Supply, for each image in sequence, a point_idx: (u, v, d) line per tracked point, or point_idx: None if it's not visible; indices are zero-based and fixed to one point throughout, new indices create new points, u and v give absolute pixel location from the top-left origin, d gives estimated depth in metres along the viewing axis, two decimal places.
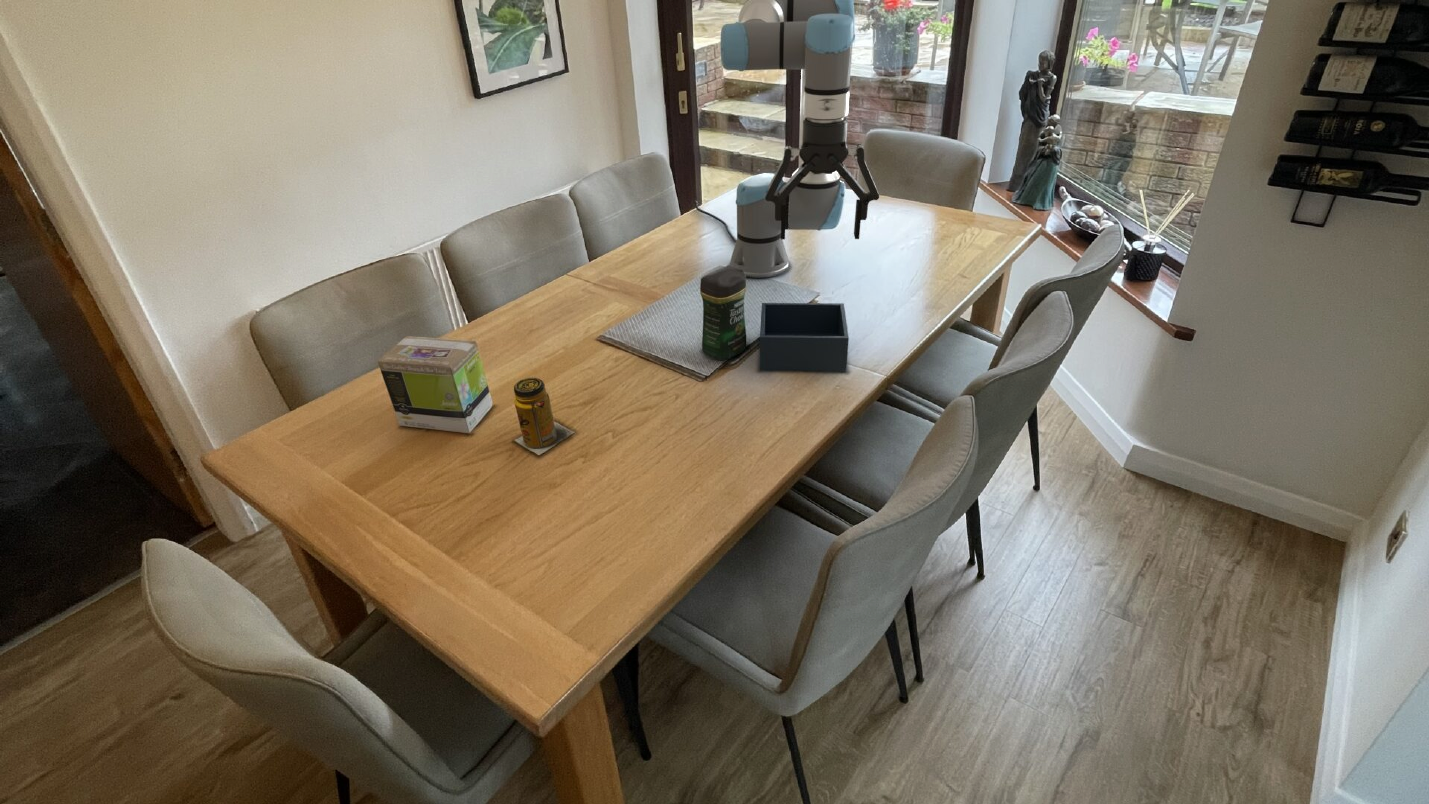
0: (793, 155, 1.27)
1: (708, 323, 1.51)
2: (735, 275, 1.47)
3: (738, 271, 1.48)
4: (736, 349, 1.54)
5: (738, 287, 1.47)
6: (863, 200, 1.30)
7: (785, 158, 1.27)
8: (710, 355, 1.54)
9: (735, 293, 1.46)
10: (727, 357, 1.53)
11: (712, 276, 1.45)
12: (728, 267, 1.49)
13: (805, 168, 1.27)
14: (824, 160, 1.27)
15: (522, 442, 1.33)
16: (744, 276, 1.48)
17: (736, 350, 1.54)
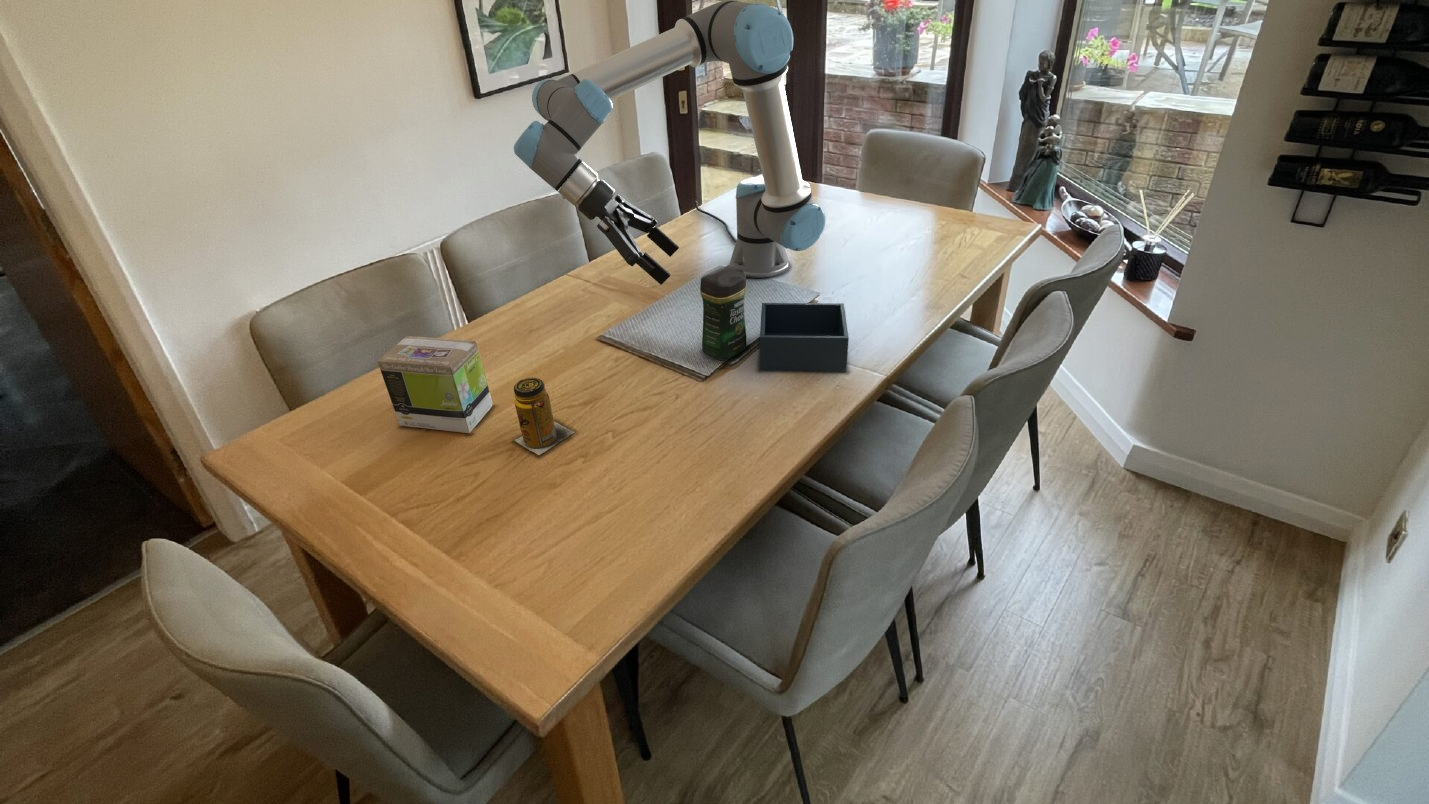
0: None
1: (708, 323, 1.51)
2: (735, 274, 1.47)
3: (738, 271, 1.48)
4: (736, 349, 1.54)
5: (739, 287, 1.47)
6: None
7: None
8: (710, 355, 1.54)
9: (736, 293, 1.46)
10: (727, 357, 1.53)
11: (712, 276, 1.45)
12: (728, 266, 1.49)
13: None
14: None
15: (522, 442, 1.33)
16: (744, 276, 1.48)
17: (736, 350, 1.54)
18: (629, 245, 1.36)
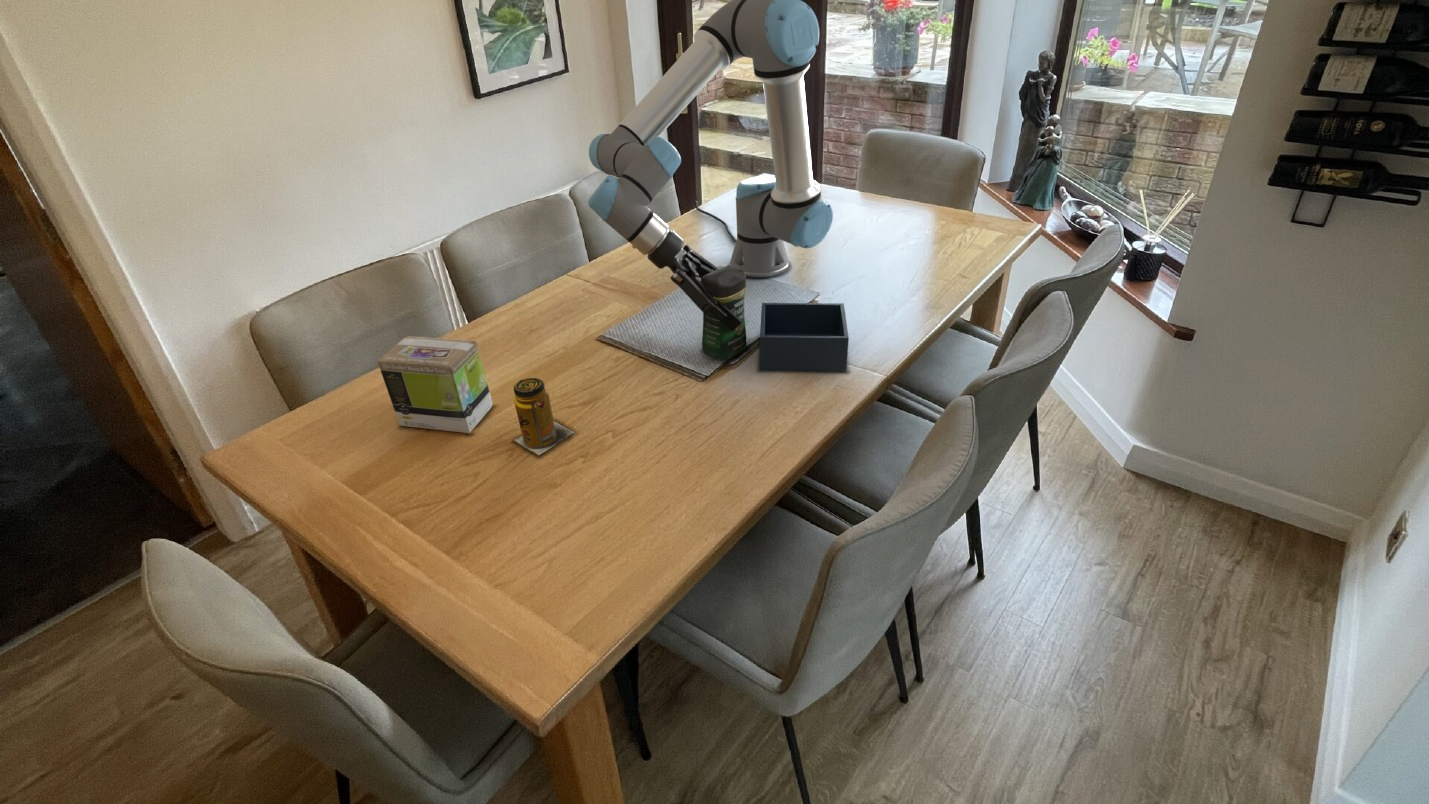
0: None
1: (708, 323, 1.51)
2: (735, 275, 1.47)
3: (738, 271, 1.48)
4: (736, 349, 1.54)
5: (739, 287, 1.46)
6: None
7: None
8: (710, 355, 1.54)
9: (736, 293, 1.46)
10: (727, 357, 1.53)
11: (712, 276, 1.45)
12: (728, 266, 1.49)
13: None
14: None
15: (522, 442, 1.33)
16: (744, 276, 1.48)
17: (736, 351, 1.54)
18: (704, 295, 1.42)
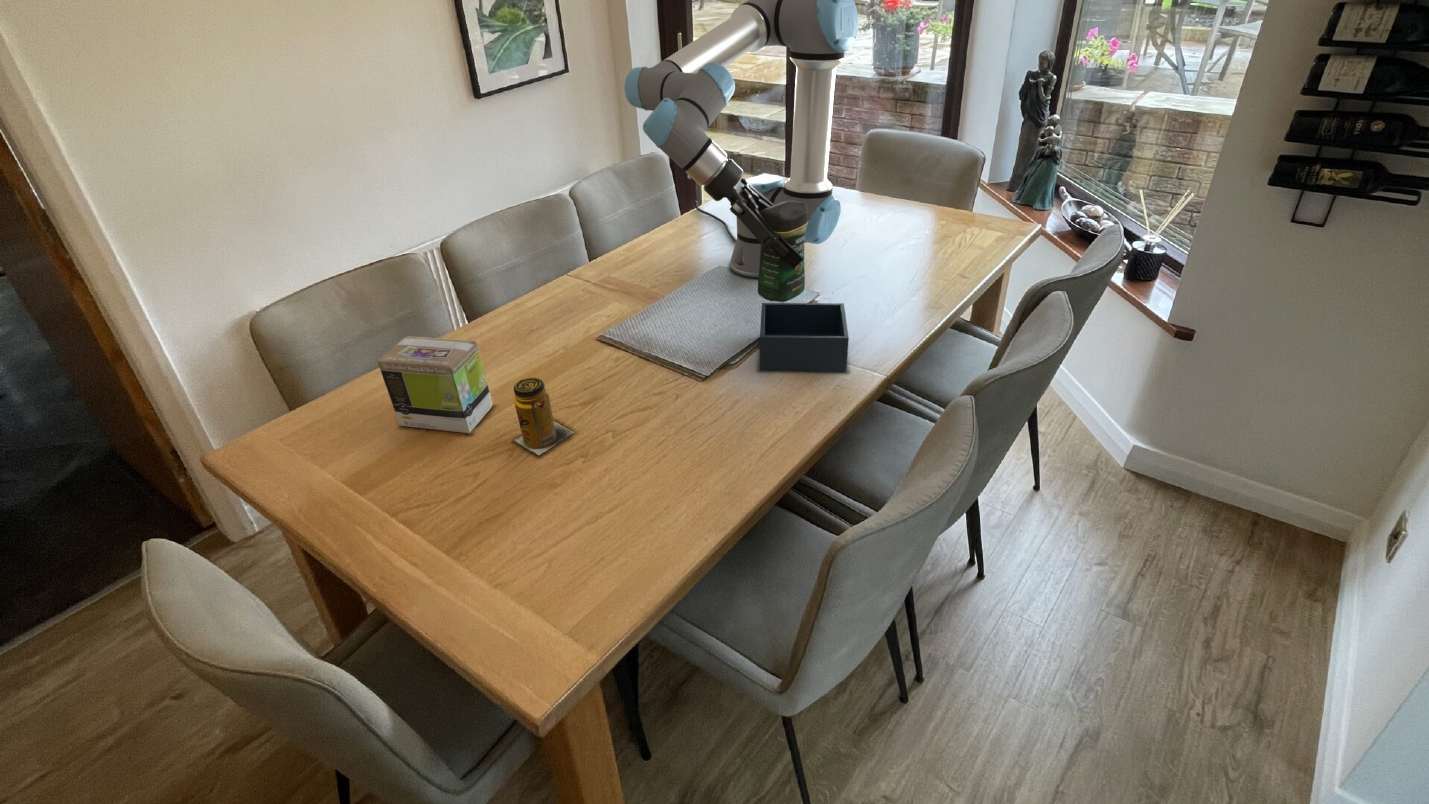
0: None
1: (766, 261, 1.41)
2: (797, 208, 1.38)
3: (800, 204, 1.39)
4: (795, 290, 1.44)
5: (801, 221, 1.37)
6: None
7: None
8: (767, 297, 1.45)
9: (797, 227, 1.37)
10: (785, 299, 1.44)
11: (773, 209, 1.36)
12: (789, 200, 1.40)
13: None
14: None
15: (522, 442, 1.33)
16: (806, 210, 1.38)
17: (795, 292, 1.45)
18: (765, 228, 1.33)
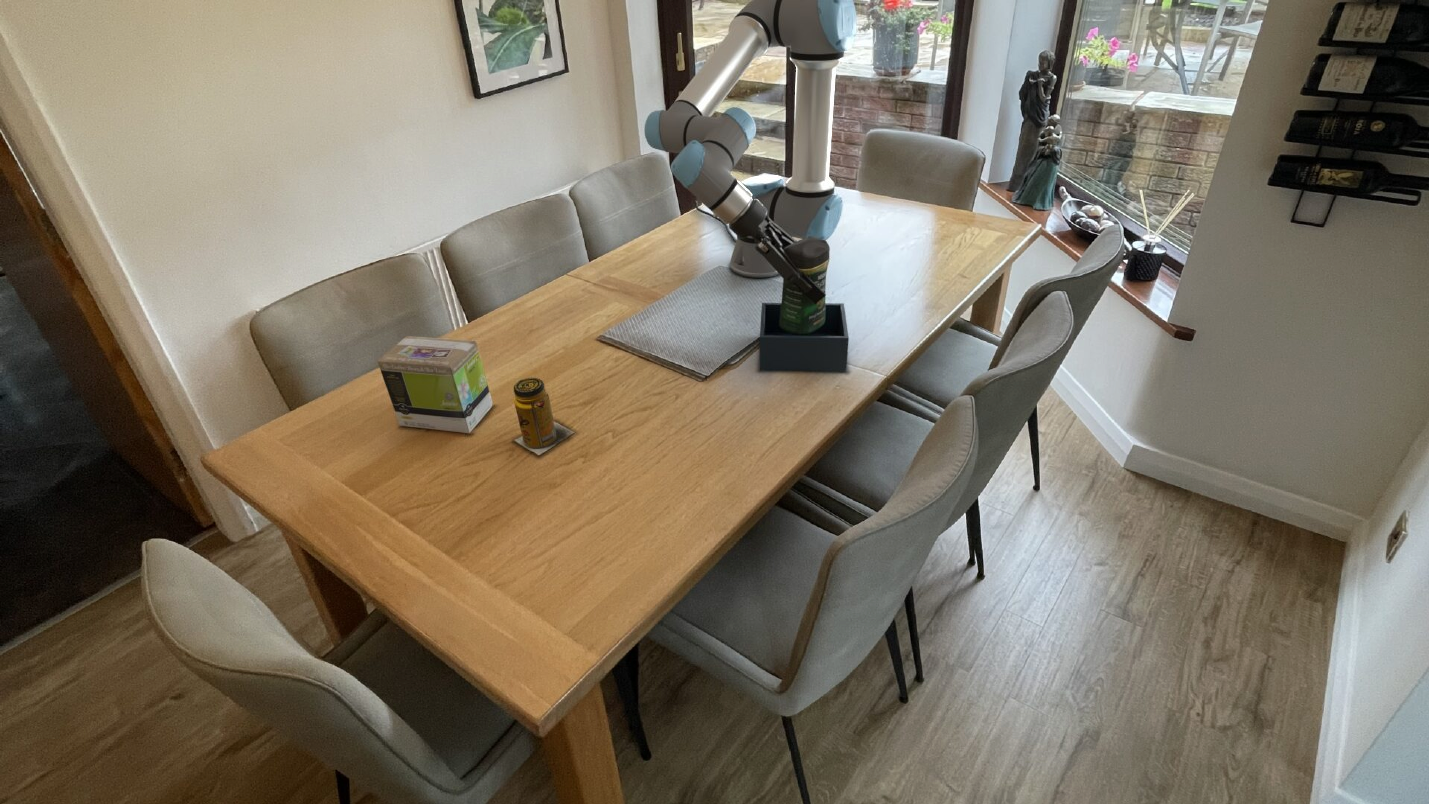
0: None
1: (788, 296, 1.45)
2: (819, 245, 1.41)
3: (822, 242, 1.42)
4: (816, 323, 1.48)
5: (823, 259, 1.41)
6: None
7: None
8: (789, 330, 1.48)
9: (820, 264, 1.41)
10: (807, 332, 1.47)
11: (796, 247, 1.40)
12: (811, 237, 1.43)
13: None
14: None
15: (522, 442, 1.33)
16: (828, 247, 1.42)
17: (816, 326, 1.48)
18: (789, 266, 1.36)
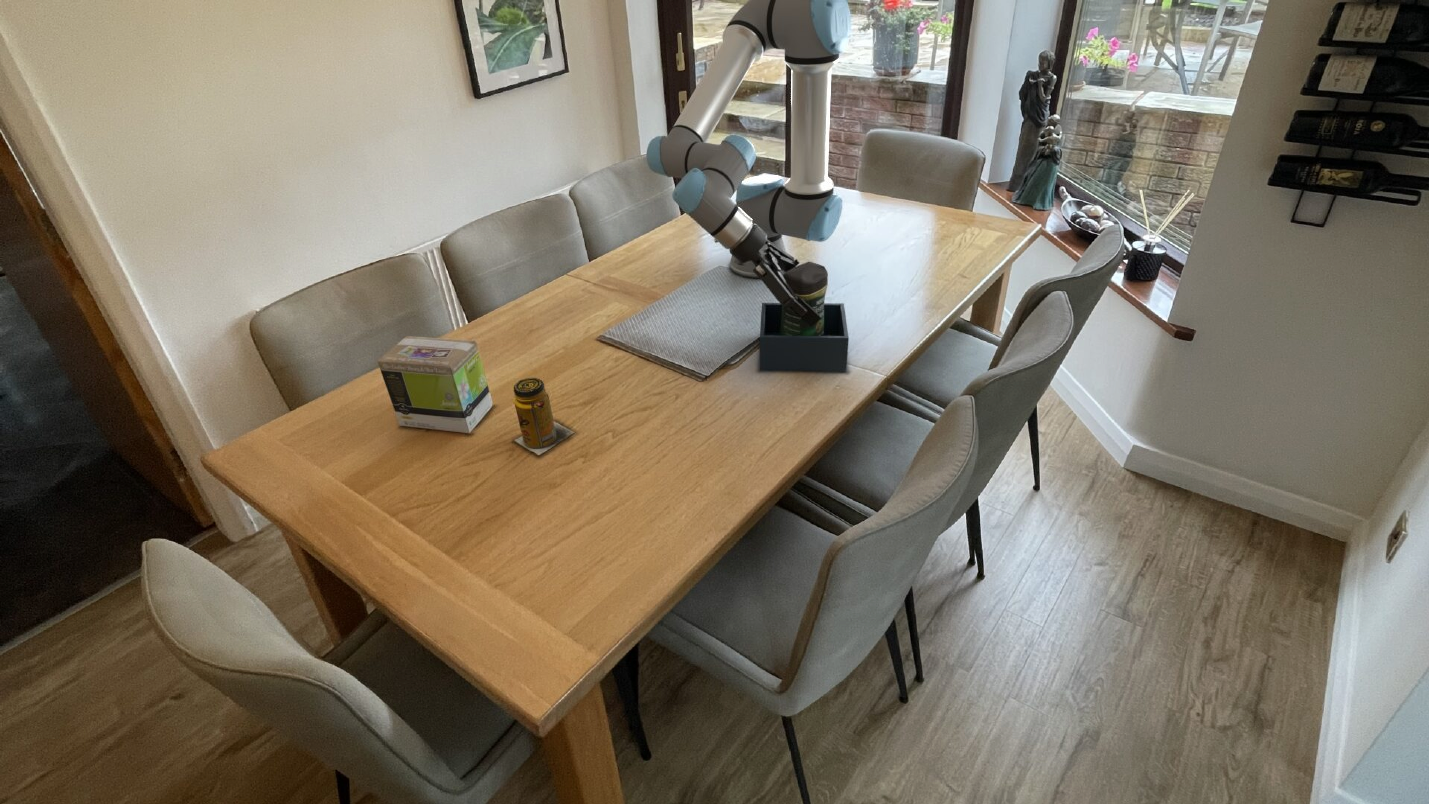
0: None
1: (787, 320, 1.48)
2: (818, 271, 1.44)
3: (820, 267, 1.45)
4: None
5: (821, 284, 1.44)
6: None
7: None
8: None
9: (818, 290, 1.44)
10: None
11: (795, 273, 1.43)
12: (809, 263, 1.47)
13: None
14: None
15: (522, 442, 1.33)
16: (826, 273, 1.45)
17: None
18: (785, 289, 1.38)
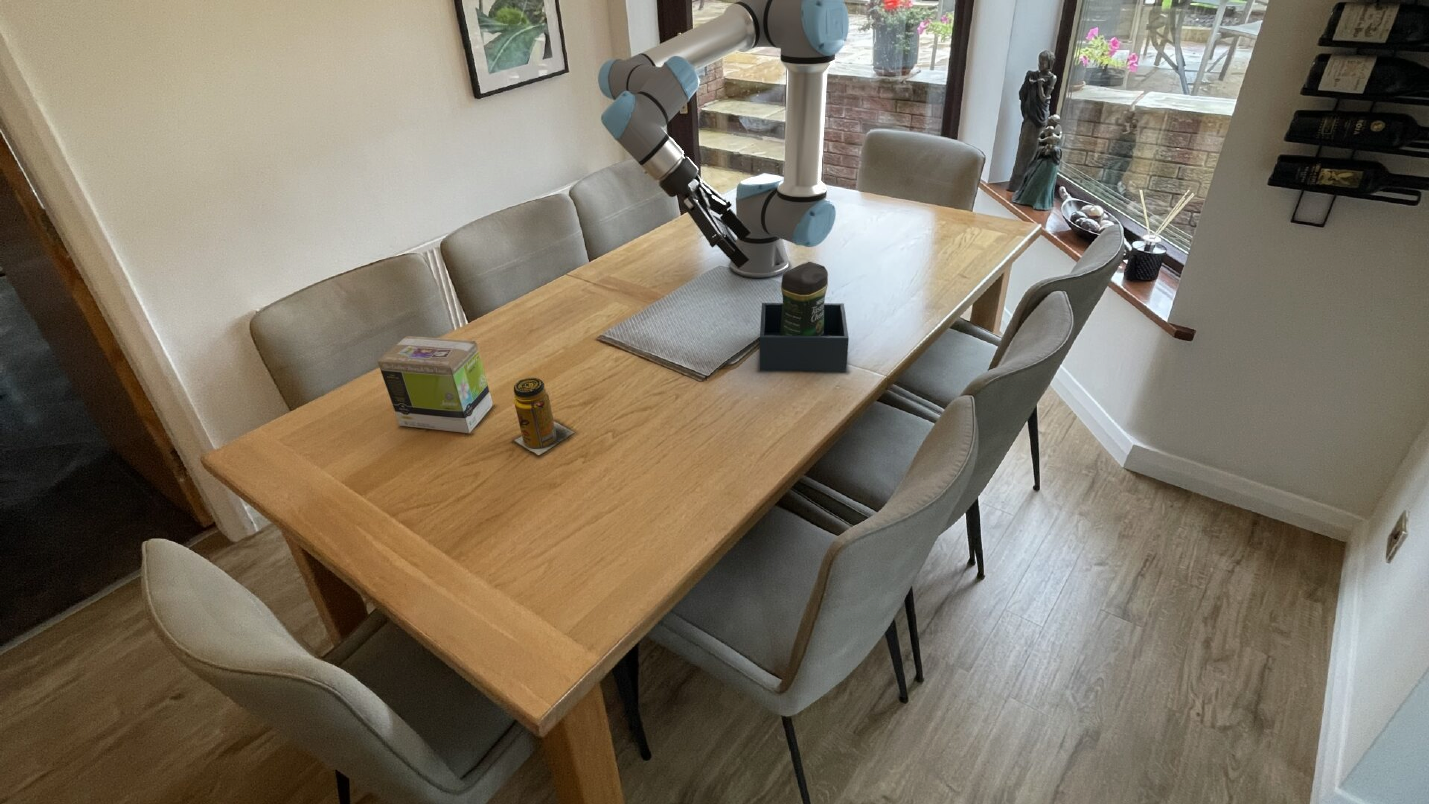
0: None
1: (787, 320, 1.48)
2: (818, 271, 1.44)
3: (820, 267, 1.45)
4: None
5: (821, 284, 1.44)
6: None
7: None
8: None
9: (818, 290, 1.44)
10: None
11: (795, 273, 1.43)
12: (810, 263, 1.47)
13: None
14: None
15: (522, 442, 1.33)
16: (826, 273, 1.45)
17: None
18: (713, 225, 1.34)
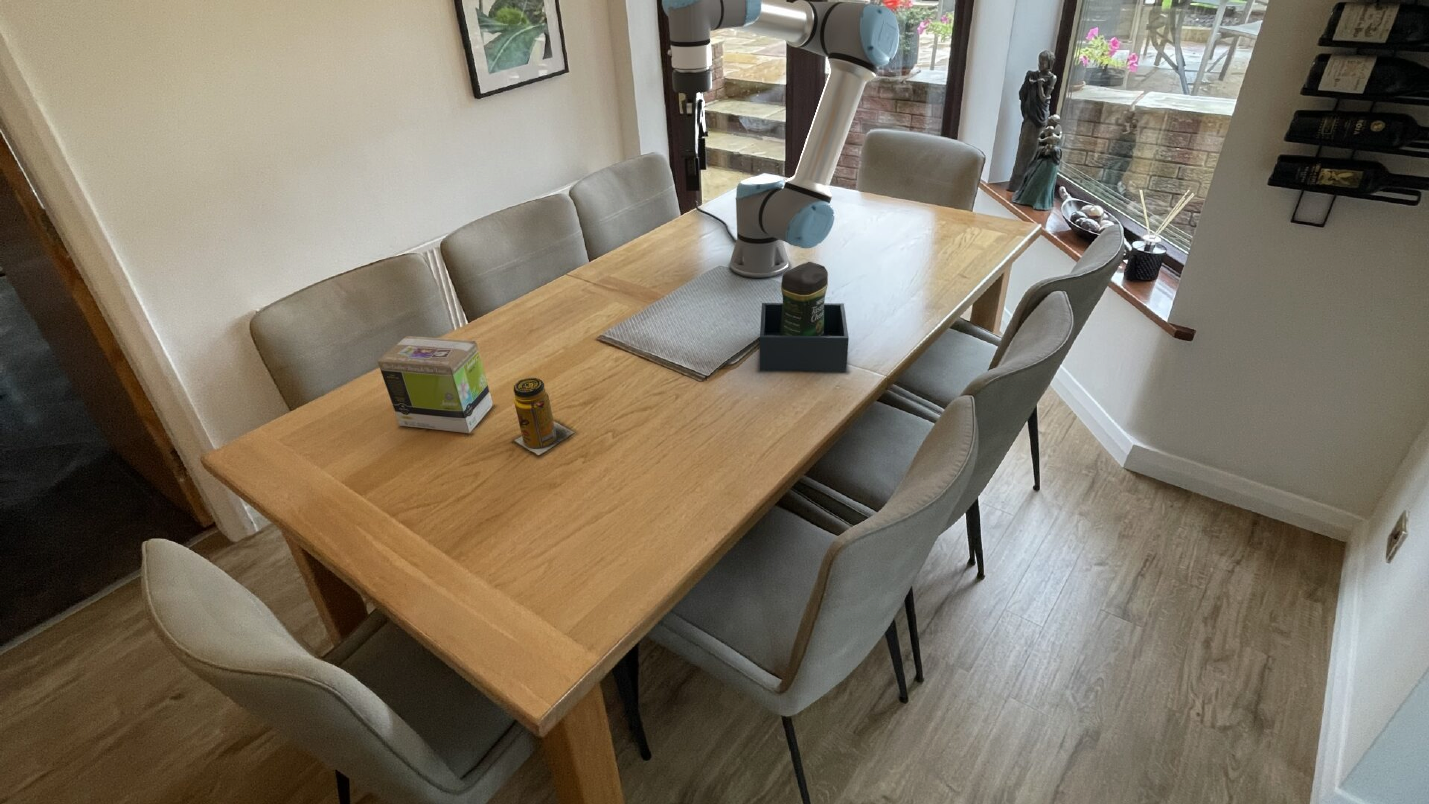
0: None
1: (787, 320, 1.48)
2: (818, 271, 1.44)
3: (820, 267, 1.45)
4: None
5: (821, 284, 1.44)
6: None
7: None
8: None
9: (818, 290, 1.44)
10: None
11: (795, 273, 1.43)
12: (810, 263, 1.47)
13: None
14: None
15: (522, 442, 1.33)
16: (826, 273, 1.45)
17: None
18: (696, 142, 1.38)
